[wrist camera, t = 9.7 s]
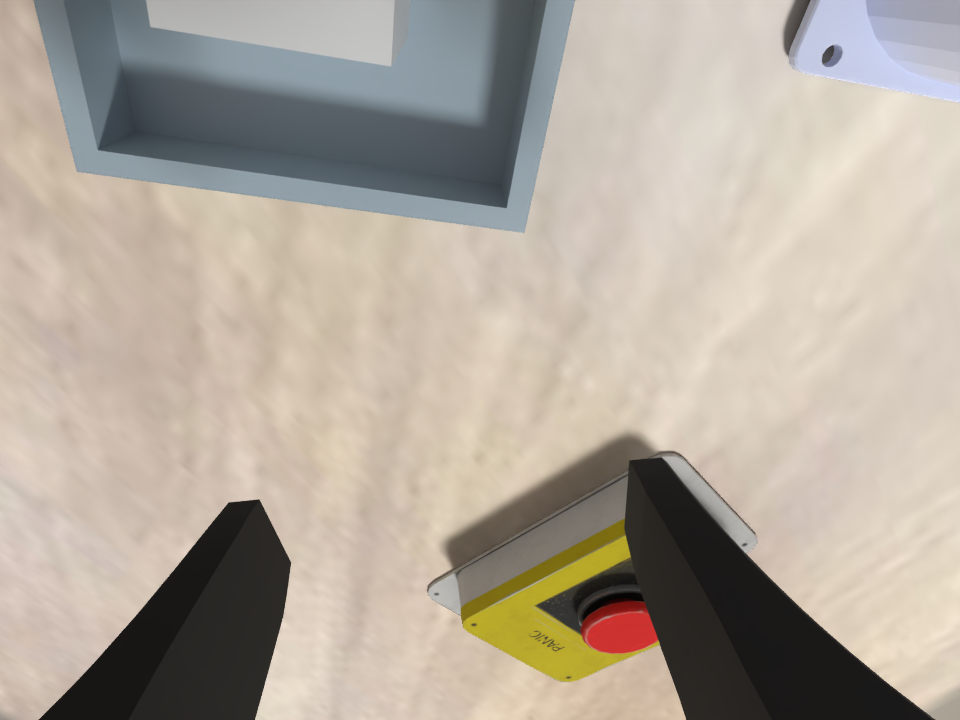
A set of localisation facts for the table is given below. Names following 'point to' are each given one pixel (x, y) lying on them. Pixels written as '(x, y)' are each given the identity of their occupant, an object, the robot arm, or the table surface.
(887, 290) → the table surface
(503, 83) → the parts tray
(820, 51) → the robot arm
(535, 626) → the emergency button
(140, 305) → the table surface
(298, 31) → the block
